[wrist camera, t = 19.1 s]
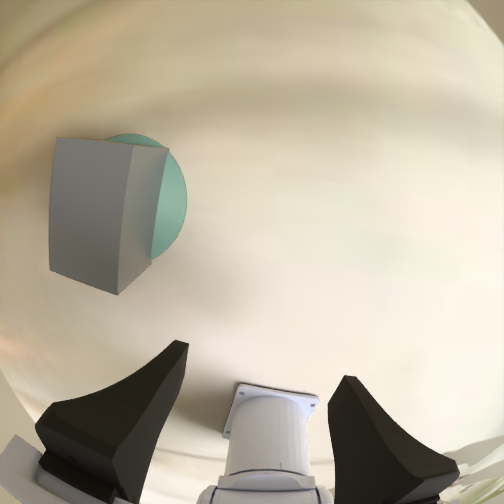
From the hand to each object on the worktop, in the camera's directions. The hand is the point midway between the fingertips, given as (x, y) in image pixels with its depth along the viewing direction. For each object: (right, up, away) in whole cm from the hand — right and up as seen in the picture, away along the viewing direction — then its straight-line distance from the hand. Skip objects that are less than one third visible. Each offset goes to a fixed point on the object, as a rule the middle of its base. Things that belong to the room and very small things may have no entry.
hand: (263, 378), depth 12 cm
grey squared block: (-10, +9, +8) cm, 16 cm away
